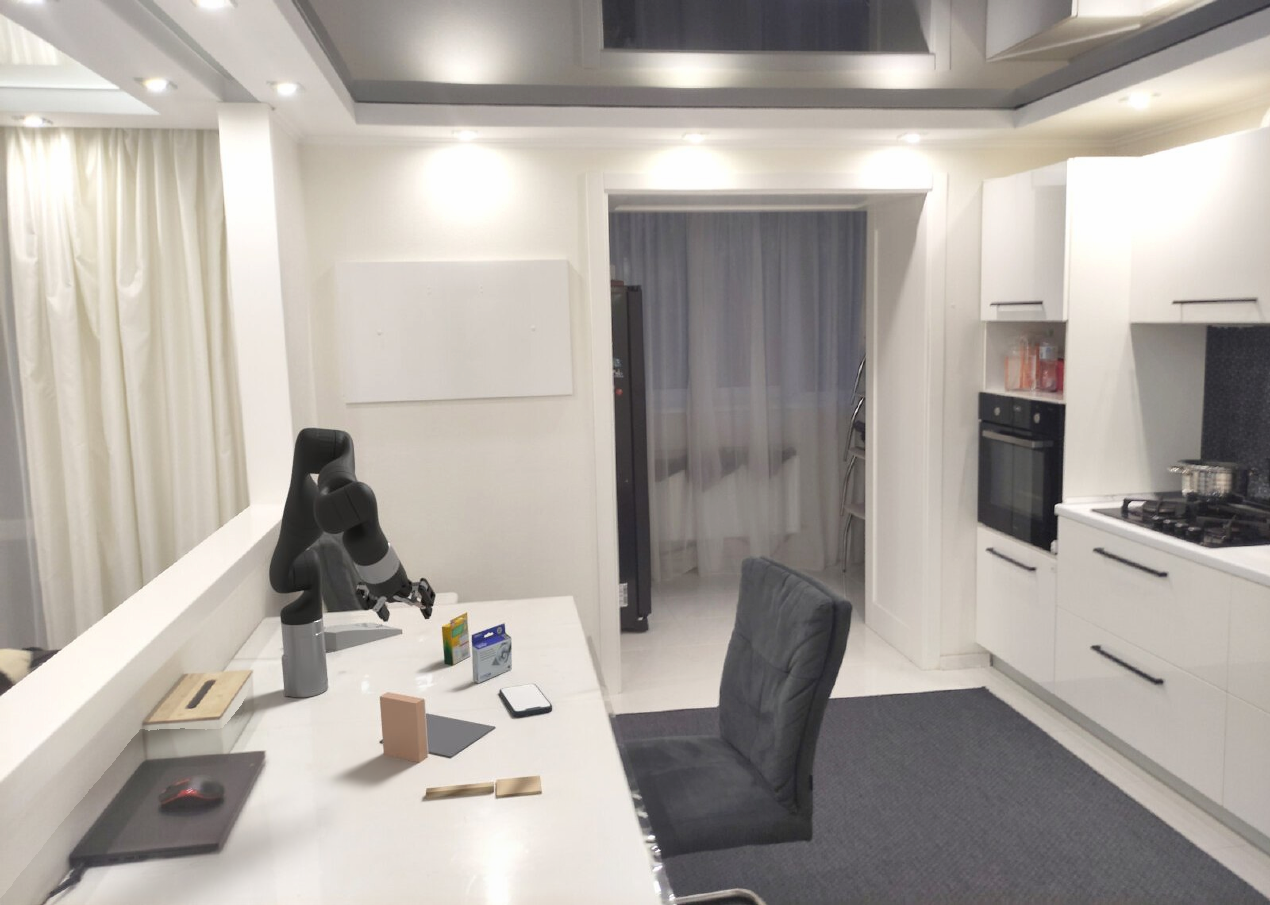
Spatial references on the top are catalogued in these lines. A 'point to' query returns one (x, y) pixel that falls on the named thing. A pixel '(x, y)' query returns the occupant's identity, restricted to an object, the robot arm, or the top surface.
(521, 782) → the turner
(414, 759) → the tile
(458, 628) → the crayon box
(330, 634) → the ramp
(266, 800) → the top surface
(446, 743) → the mat
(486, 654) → the ink box
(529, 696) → the phone case
